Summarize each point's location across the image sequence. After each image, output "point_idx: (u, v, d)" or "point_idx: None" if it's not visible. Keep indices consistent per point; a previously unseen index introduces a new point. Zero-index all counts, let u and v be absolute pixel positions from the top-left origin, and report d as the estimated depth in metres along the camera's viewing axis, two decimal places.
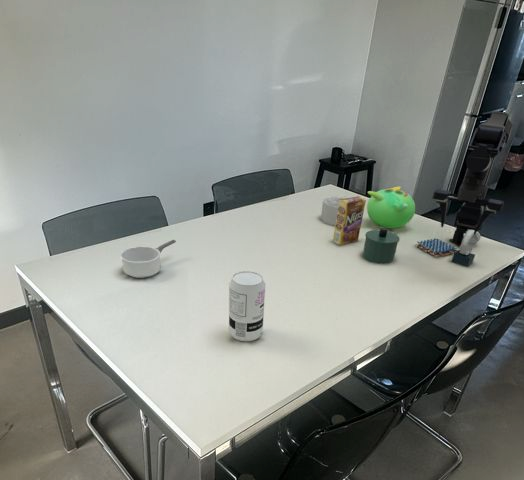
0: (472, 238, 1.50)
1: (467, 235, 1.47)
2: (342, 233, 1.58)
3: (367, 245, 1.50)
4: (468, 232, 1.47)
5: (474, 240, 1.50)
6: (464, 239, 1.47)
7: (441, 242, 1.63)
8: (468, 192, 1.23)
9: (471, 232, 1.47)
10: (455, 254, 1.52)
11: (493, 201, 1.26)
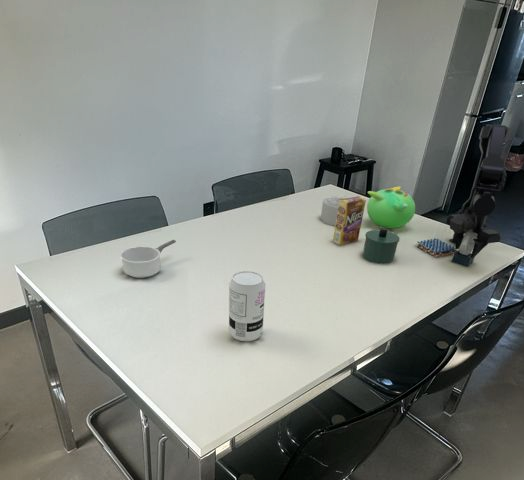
0: (472, 238, 1.50)
1: (467, 235, 1.47)
2: (342, 233, 1.58)
3: (367, 245, 1.50)
4: (468, 232, 1.47)
5: None
6: (464, 239, 1.47)
7: (441, 242, 1.63)
8: (454, 224, 1.43)
9: (471, 232, 1.47)
10: (455, 254, 1.52)
11: (482, 233, 1.41)
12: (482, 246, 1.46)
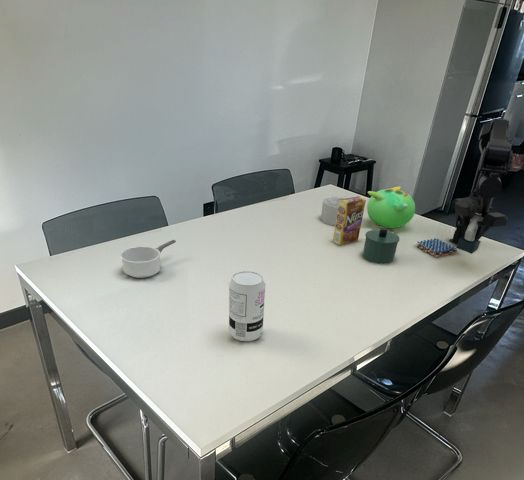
0: None
1: (473, 221, 1.43)
2: (342, 233, 1.58)
3: (367, 245, 1.50)
4: (474, 218, 1.44)
5: None
6: (470, 225, 1.43)
7: (441, 242, 1.63)
8: (459, 207, 1.40)
9: (477, 218, 1.43)
10: (460, 240, 1.49)
11: (487, 216, 1.38)
12: (485, 229, 1.44)
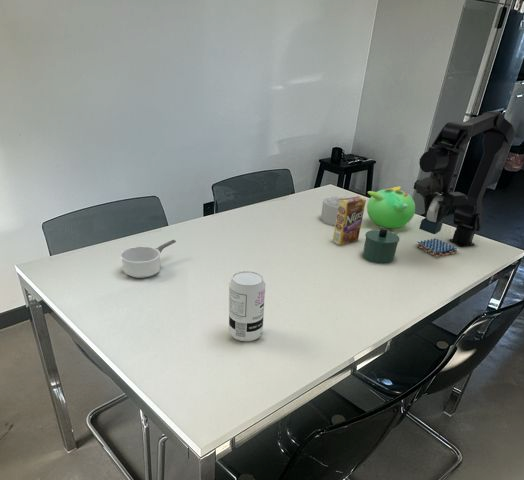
0: None
1: (434, 201, 1.43)
2: (342, 233, 1.58)
3: (367, 245, 1.50)
4: (436, 198, 1.44)
5: None
6: (431, 205, 1.44)
7: (441, 242, 1.63)
8: (419, 187, 1.40)
9: (439, 198, 1.43)
10: (423, 221, 1.49)
11: (447, 195, 1.38)
12: (447, 209, 1.44)
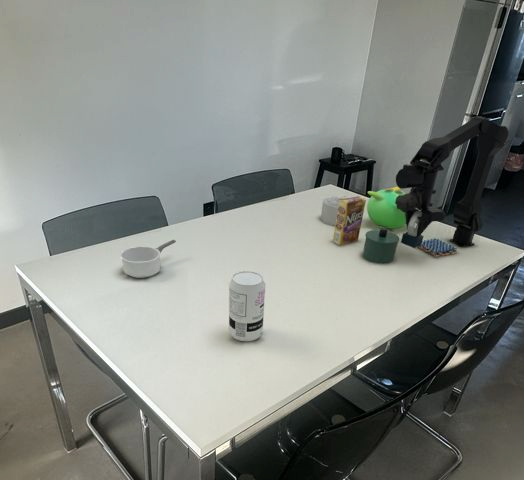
0: None
1: (414, 216, 1.48)
2: (342, 233, 1.58)
3: (367, 245, 1.50)
4: (415, 213, 1.48)
5: None
6: (411, 220, 1.48)
7: (441, 242, 1.63)
8: (399, 203, 1.45)
9: (418, 213, 1.48)
10: (404, 235, 1.54)
11: (426, 212, 1.42)
12: (426, 224, 1.48)
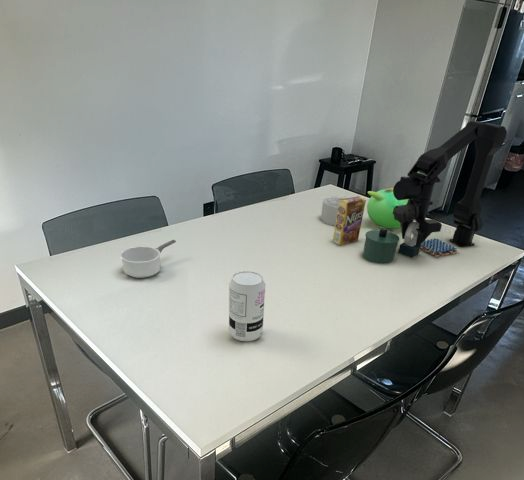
0: None
1: (410, 227, 1.50)
2: (342, 233, 1.58)
3: (367, 245, 1.50)
4: (412, 224, 1.51)
5: None
6: (407, 230, 1.51)
7: (441, 242, 1.63)
8: (396, 214, 1.47)
9: (414, 224, 1.51)
10: (401, 245, 1.56)
11: (423, 223, 1.44)
12: (425, 236, 1.50)
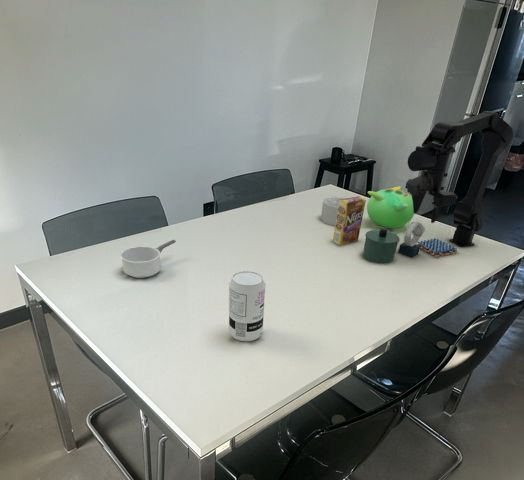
0: (417, 230, 1.54)
1: (410, 227, 1.50)
2: (342, 233, 1.58)
3: (367, 245, 1.50)
4: (412, 224, 1.51)
5: (419, 232, 1.54)
6: (407, 230, 1.51)
7: (441, 242, 1.63)
8: (410, 186, 1.42)
9: (414, 224, 1.50)
10: (401, 245, 1.56)
11: (437, 195, 1.39)
12: (441, 210, 1.44)
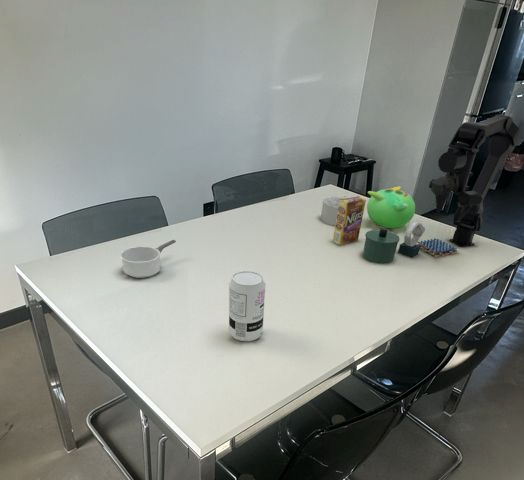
0: (417, 230, 1.54)
1: (410, 227, 1.50)
2: (342, 233, 1.58)
3: (367, 245, 1.50)
4: (412, 224, 1.51)
5: (419, 232, 1.54)
6: (407, 230, 1.51)
7: (441, 242, 1.63)
8: (435, 186, 1.42)
9: (414, 224, 1.51)
10: (401, 245, 1.56)
11: (463, 194, 1.40)
12: (466, 209, 1.45)
